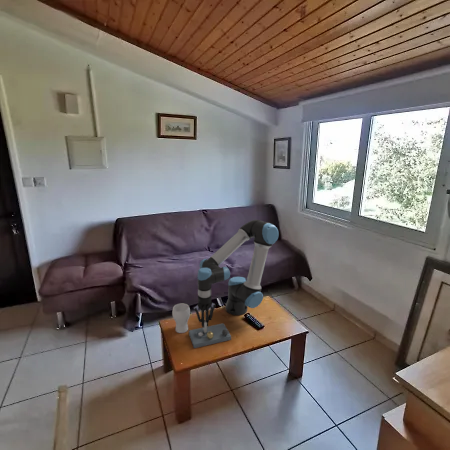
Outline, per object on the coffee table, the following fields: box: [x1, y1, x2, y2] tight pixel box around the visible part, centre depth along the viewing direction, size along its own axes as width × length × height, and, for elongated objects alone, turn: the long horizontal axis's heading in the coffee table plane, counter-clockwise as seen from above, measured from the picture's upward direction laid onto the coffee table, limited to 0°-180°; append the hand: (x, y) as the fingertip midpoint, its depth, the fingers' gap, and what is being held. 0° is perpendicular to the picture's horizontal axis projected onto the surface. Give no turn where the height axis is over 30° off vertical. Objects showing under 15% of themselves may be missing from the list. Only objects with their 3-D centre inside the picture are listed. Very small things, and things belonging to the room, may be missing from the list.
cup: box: [171, 302, 191, 334], centre depth 168 cm, size 11×11×15 cm
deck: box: [188, 322, 232, 349], centre depth 163 cm, size 22×13×2 cm, turn 110°
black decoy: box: [222, 329, 229, 336], centre depth 161 cm, size 3×3×3 cm
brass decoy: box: [207, 331, 214, 339], centre depth 158 cm, size 4×4×4 cm
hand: (205, 331), depth 163 cm, fingers closed
